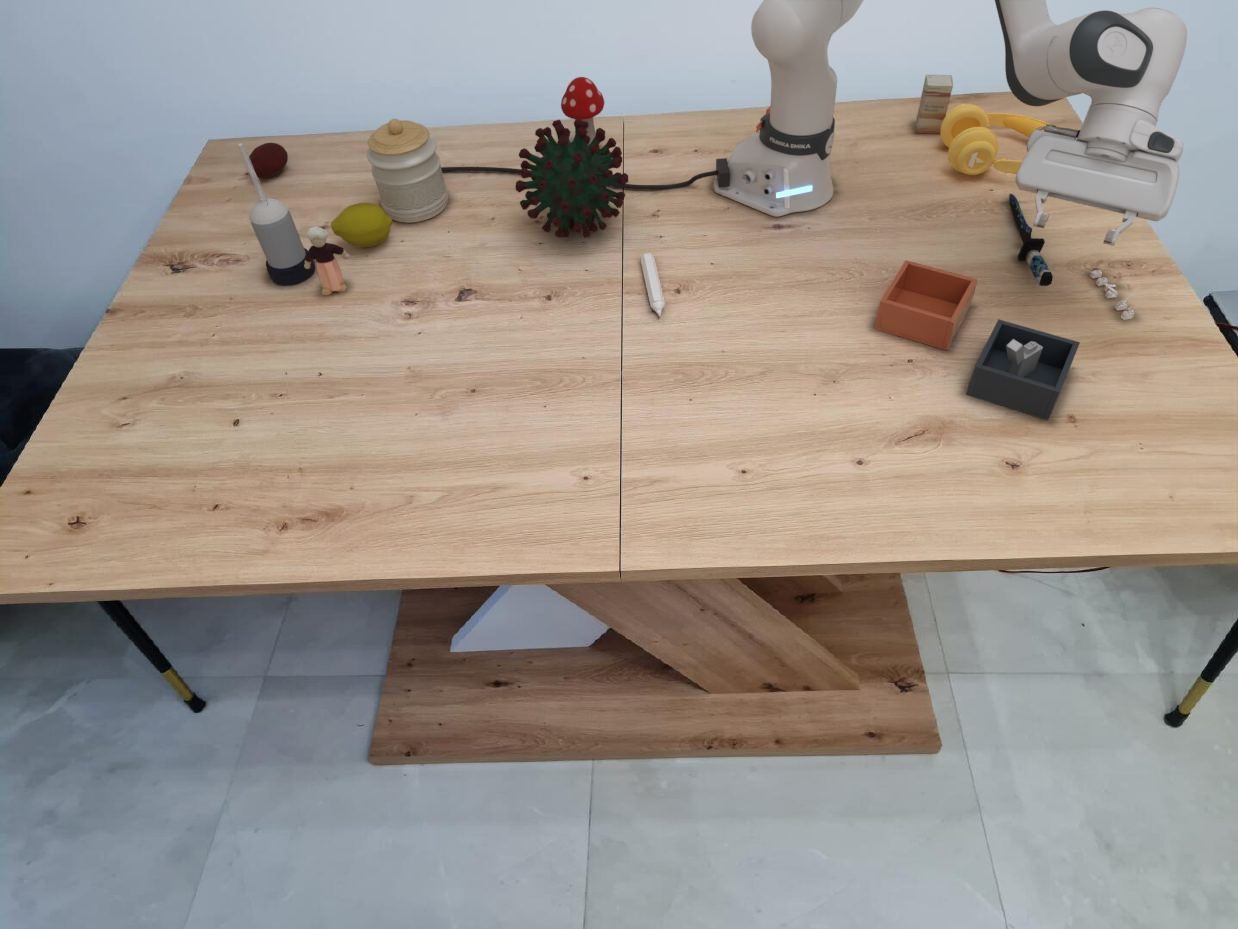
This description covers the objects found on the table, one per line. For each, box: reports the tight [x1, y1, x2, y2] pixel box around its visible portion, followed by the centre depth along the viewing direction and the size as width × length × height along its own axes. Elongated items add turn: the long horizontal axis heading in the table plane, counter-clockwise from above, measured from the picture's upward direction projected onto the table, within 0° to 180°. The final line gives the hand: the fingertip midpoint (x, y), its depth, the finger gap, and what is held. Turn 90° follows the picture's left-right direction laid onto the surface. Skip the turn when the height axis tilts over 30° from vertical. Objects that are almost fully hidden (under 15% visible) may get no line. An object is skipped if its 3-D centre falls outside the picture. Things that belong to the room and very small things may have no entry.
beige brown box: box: [915, 74, 954, 135], centre depth 178 cm, size 5×4×10 cm
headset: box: [940, 103, 1052, 176], centre depth 169 cm, size 18×21×9 cm
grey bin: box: [966, 319, 1081, 421], centre depth 131 cm, size 12×12×6 cm
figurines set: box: [1089, 269, 1136, 321], centre depth 143 cm, size 12×3×3 cm, turn 7°
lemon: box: [330, 202, 394, 248], centre depth 165 cm, size 11×8×8 cm
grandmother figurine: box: [304, 225, 350, 296], centre depth 155 cm, size 8×4×13 cm, turn 118°
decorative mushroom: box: [560, 76, 605, 148], centre depth 179 cm, size 10×9×15 cm
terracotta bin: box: [874, 259, 979, 351], centre depth 142 cm, size 12×12×6 cm
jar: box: [366, 118, 449, 223], centre depth 169 cm, size 13×13×18 cm
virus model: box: [515, 119, 629, 239], centre depth 159 cm, size 20×20×20 cm
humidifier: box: [237, 142, 316, 287], centre depth 155 cm, size 8×8×25 cm
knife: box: [1008, 193, 1054, 287], centre depth 152 cm, size 31×3×4 cm, turn 170°
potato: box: [248, 142, 289, 179], centre depth 185 cm, size 8×9×6 cm
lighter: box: [1006, 339, 1043, 377], centre depth 130 cm, size 7×2×8 cm, turn 124°
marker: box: [640, 252, 666, 317], centre depth 152 cm, size 3×2×16 cm
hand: (1073, 235), depth 127 cm, fingers open, 8 cm apart
